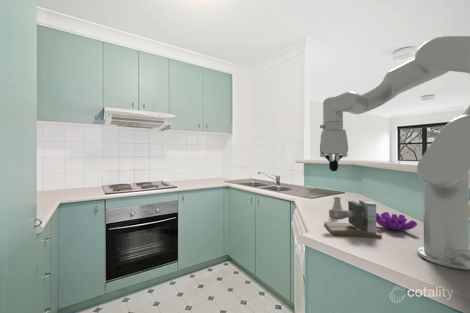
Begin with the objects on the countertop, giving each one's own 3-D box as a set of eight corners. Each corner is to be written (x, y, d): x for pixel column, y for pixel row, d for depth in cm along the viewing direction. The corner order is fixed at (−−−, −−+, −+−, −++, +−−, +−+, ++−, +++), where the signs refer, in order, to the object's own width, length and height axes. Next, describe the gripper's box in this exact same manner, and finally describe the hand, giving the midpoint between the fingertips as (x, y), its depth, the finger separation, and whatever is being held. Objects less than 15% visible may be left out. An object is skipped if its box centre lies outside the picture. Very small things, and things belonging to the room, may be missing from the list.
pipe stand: (381, 238, 79) (381, 205, 79) (333, 235, 82) (333, 204, 82) (365, 226, 93) (364, 198, 93) (324, 224, 95) (324, 197, 96)
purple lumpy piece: (394, 242, 83) (377, 221, 85) (382, 230, 98) (367, 212, 100) (422, 227, 81) (403, 206, 82) (405, 217, 95) (390, 199, 97)
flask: (326, 215, 111) (326, 196, 111) (337, 214, 113) (337, 195, 113) (337, 219, 104) (336, 199, 104) (348, 218, 106) (348, 198, 106)
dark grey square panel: (362, 228, 82) (362, 205, 82) (356, 228, 83) (356, 205, 83) (353, 221, 91) (353, 201, 91) (348, 221, 91) (348, 201, 92)
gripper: (316, 126, 86) (316, 171, 86) (355, 125, 84) (356, 171, 83) (312, 129, 94) (313, 170, 93) (348, 128, 91) (349, 170, 91)
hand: (333, 170), depth 88 cm, fingers closed
